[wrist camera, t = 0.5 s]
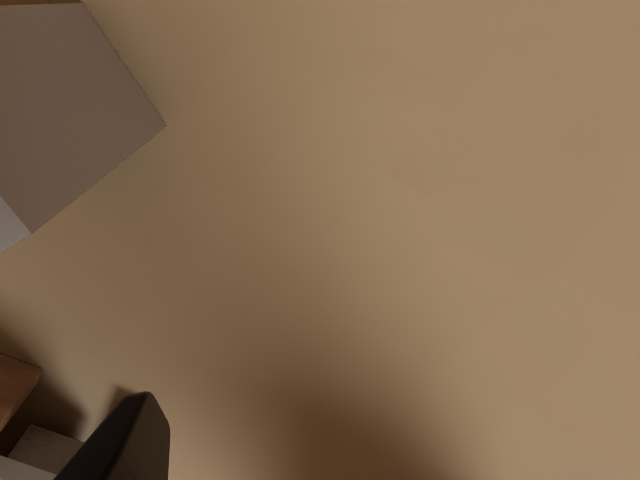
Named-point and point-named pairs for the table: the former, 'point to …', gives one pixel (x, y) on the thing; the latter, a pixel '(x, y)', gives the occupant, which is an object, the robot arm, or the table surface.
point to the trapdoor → (38, 455)
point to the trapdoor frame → (15, 385)
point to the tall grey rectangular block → (61, 112)
